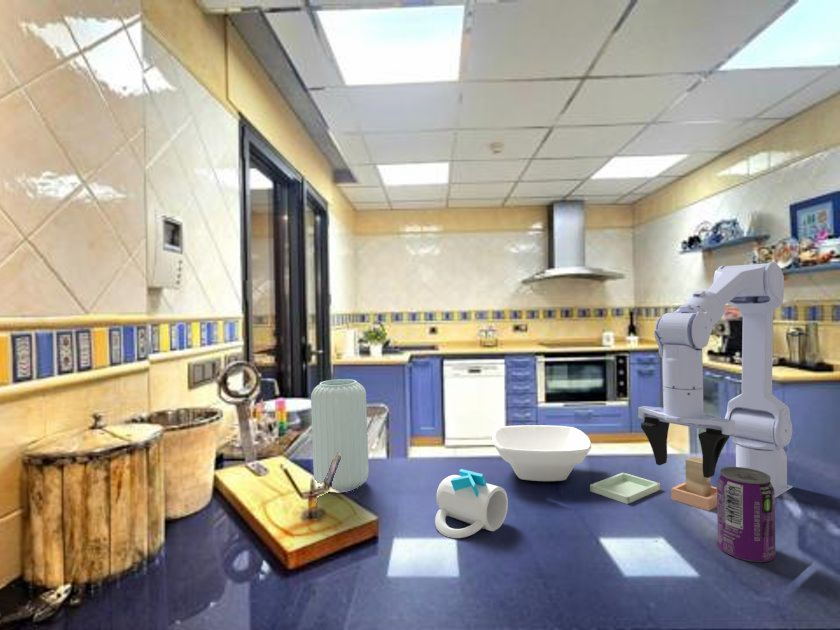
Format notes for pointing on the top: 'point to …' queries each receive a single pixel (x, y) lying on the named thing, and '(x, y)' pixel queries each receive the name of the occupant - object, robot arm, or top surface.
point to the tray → (625, 487)
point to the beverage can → (746, 514)
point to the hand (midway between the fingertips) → (684, 469)
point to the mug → (470, 504)
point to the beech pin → (697, 477)
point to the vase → (340, 432)
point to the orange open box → (694, 497)
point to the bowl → (541, 450)
